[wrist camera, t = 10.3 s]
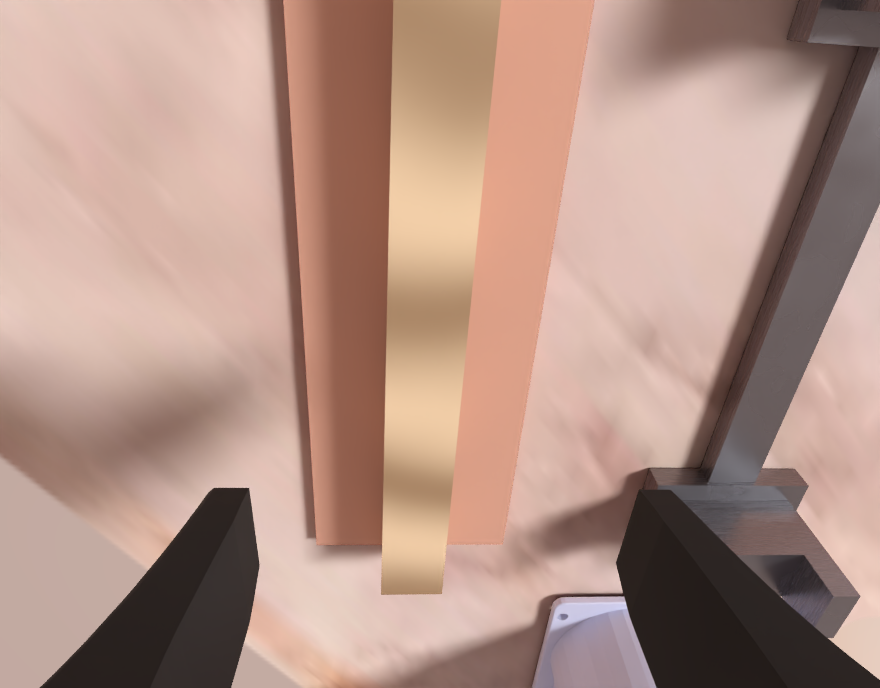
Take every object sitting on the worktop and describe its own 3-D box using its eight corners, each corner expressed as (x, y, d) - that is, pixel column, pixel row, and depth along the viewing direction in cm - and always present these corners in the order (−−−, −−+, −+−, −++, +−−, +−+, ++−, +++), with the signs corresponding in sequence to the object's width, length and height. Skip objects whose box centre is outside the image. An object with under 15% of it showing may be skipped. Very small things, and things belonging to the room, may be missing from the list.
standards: (763, 534, 28) (839, 650, 23) (628, 535, 27) (677, 653, 22) (1080, -119, 15) (1389, -166, 11) (844, -142, 15) (1058, -202, 10)
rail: (438, 545, 26) (441, 593, 24) (382, 545, 26) (381, 594, 24) (503, -175, 14) (521, -204, 12) (397, -186, 14) (398, -217, 11)
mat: (500, 535, 27) (502, 544, 26) (317, 535, 26) (316, 544, 25) (616, -164, 14) (622, -168, 14) (274, -197, 14) (270, -203, 13)
